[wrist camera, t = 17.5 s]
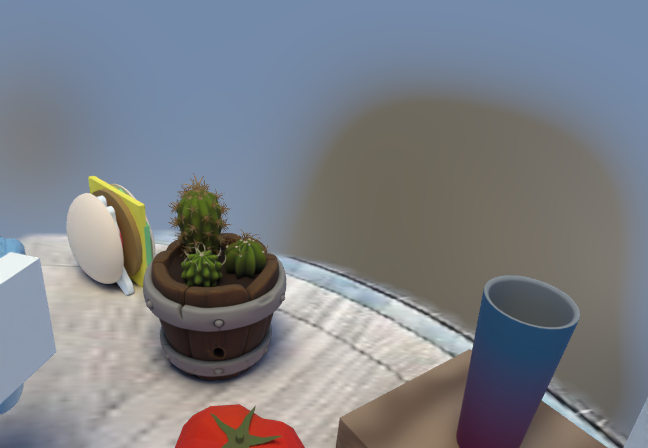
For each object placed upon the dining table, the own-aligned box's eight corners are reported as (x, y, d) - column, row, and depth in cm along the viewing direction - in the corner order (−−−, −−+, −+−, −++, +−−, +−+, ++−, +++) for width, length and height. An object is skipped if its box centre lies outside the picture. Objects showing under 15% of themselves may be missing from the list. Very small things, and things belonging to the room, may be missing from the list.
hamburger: (60, 268, 71) (47, 186, 66) (117, 248, 77) (109, 171, 72) (107, 306, 65) (97, 218, 59) (165, 281, 71) (160, 199, 65)
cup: (480, 489, 41) (531, 337, 35) (430, 425, 47) (465, 283, 40) (543, 462, 44) (601, 317, 37) (489, 405, 50) (531, 269, 43)
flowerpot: (309, 365, 58) (324, 200, 49) (175, 420, 50) (165, 233, 41) (247, 298, 69) (250, 152, 60) (127, 335, 60) (111, 171, 51)
